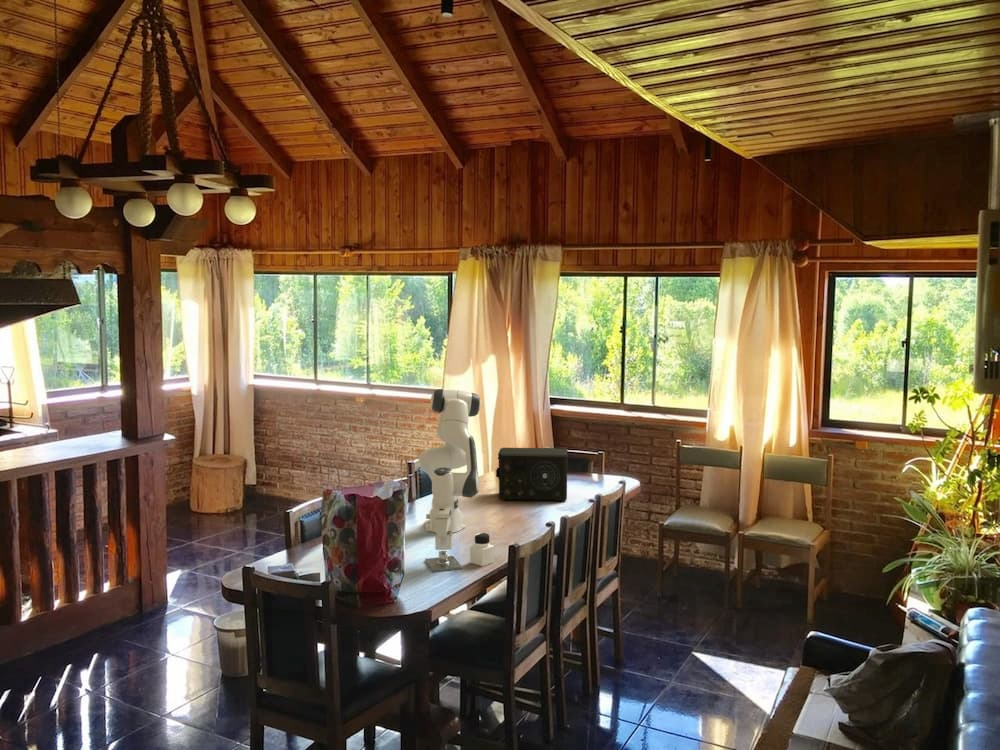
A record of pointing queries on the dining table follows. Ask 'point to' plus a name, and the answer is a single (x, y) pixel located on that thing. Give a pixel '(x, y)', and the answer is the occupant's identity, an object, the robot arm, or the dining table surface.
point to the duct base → (443, 563)
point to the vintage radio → (532, 473)
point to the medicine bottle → (482, 550)
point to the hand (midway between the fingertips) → (443, 541)
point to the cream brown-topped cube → (448, 542)
